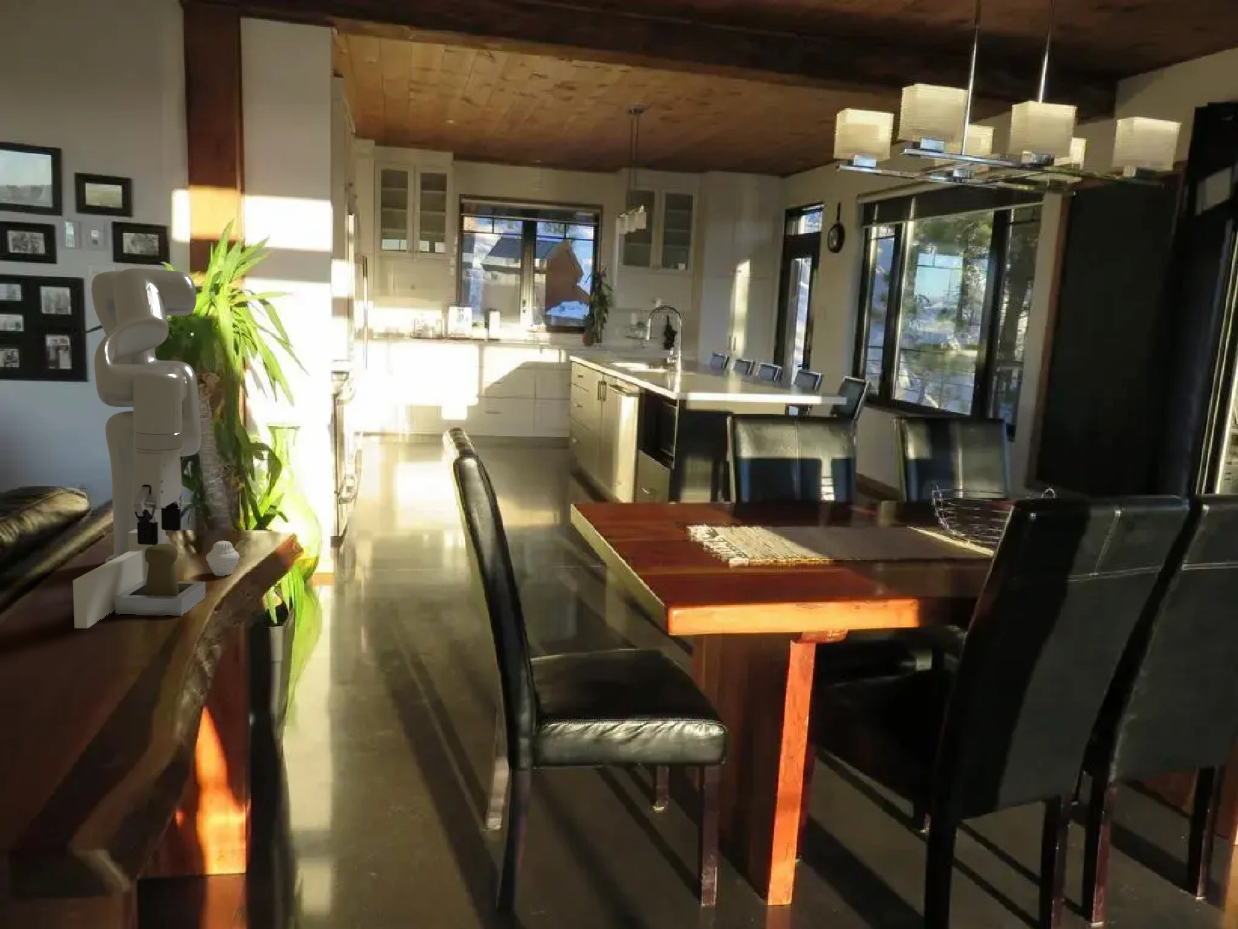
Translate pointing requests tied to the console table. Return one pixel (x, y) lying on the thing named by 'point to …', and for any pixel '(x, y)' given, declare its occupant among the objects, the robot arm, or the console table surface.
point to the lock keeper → (160, 600)
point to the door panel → (108, 583)
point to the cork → (161, 570)
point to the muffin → (222, 558)
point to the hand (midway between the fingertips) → (159, 537)
